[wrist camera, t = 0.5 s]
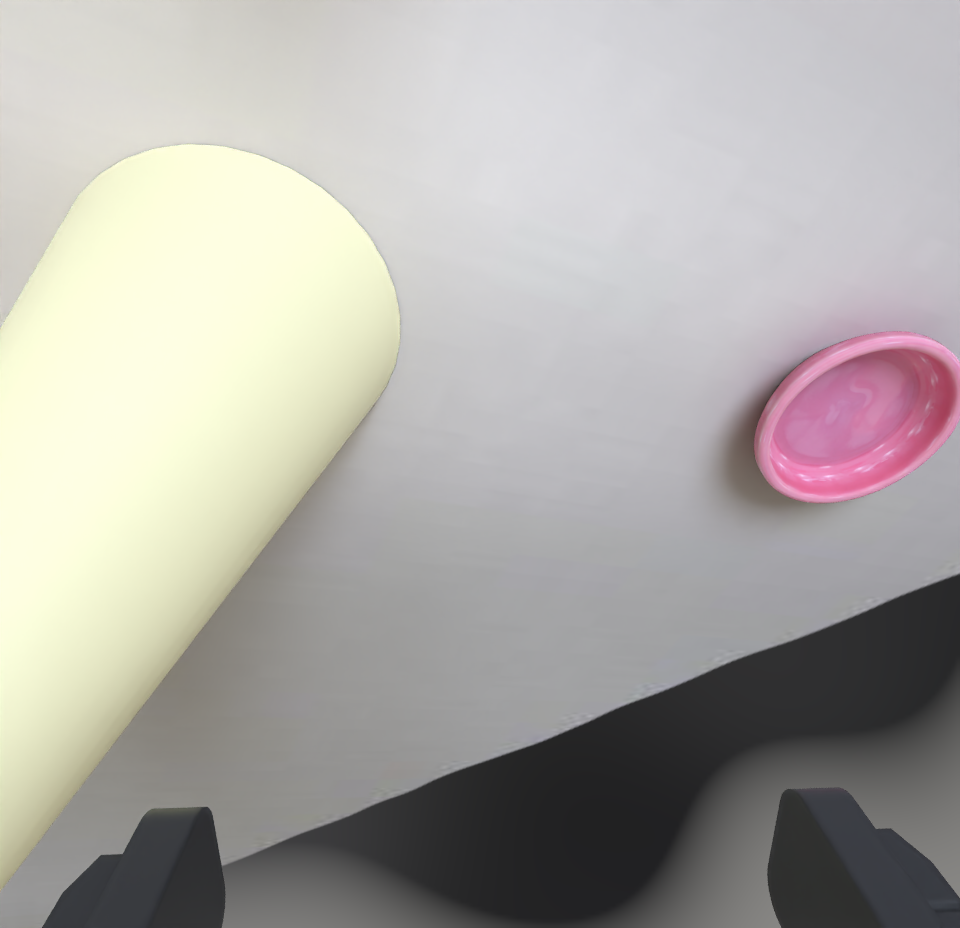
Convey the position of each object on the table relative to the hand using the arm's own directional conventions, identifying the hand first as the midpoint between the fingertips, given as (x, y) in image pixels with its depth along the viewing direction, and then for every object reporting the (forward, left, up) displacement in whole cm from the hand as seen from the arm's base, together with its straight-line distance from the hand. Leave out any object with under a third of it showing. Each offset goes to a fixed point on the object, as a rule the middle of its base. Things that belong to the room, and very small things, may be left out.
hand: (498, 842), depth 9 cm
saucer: (+26, +10, -31) cm, 42 cm away
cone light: (-3, -17, -31) cm, 35 cm away
